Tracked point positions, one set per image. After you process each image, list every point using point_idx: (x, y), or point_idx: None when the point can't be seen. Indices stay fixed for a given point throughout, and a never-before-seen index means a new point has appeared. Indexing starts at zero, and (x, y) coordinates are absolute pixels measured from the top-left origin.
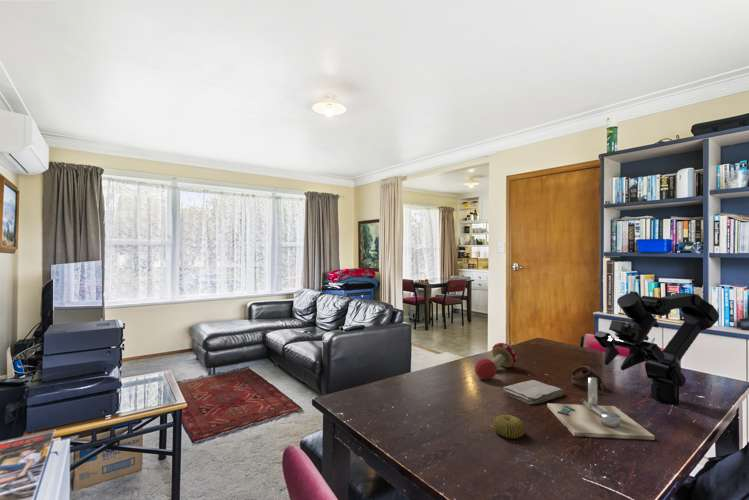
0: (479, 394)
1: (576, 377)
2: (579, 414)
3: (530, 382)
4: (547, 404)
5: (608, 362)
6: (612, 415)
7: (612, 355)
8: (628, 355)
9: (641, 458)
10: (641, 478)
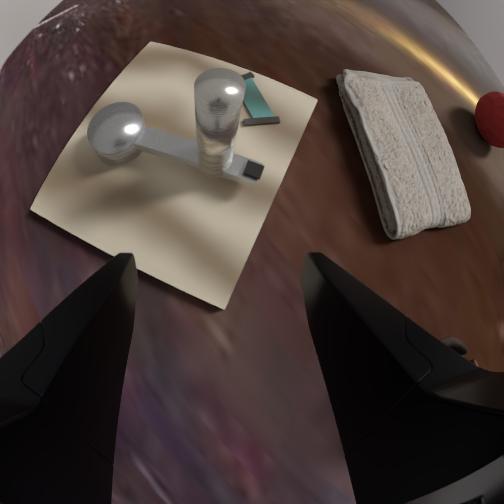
0: (401, 48)
1: (442, 340)
2: None
3: (449, 171)
4: (314, 100)
5: (308, 302)
6: (107, 127)
7: (350, 397)
8: (44, 369)
9: (29, 107)
10: (19, 66)
